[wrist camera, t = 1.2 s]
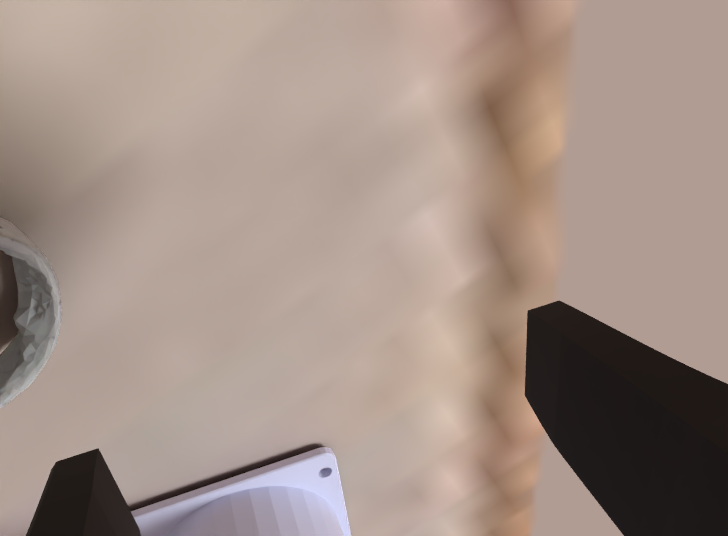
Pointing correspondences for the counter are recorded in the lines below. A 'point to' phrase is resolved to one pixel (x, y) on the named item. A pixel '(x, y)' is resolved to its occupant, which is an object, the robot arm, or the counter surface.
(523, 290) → the counter surface
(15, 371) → the ceramic mug
